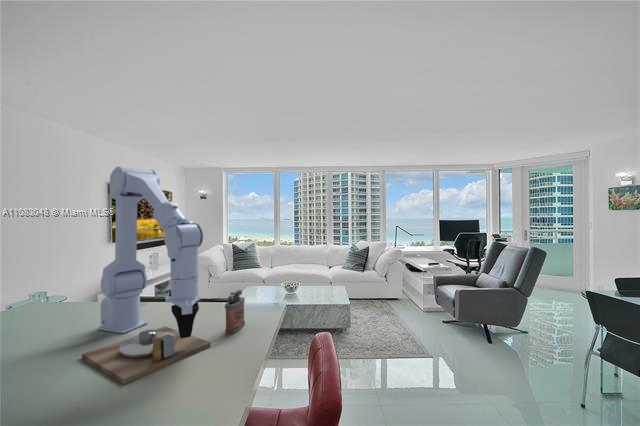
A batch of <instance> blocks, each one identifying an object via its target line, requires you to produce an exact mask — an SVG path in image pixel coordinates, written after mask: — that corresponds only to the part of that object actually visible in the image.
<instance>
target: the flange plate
mask: <svg viewBox="0 0 640 426" xmlns="http://www.w3.org/2000/svg"><path fill="white" fill-rule="evenodd" d="M134 336H135V337H134ZM134 336H131V337H132V338H131V337H129V338H130V339H128V338H126V339H127V340H126V341H124V342H123V343H122V344H121V345H120V355H121V356H123V357H127V358H142V357H148V356H152V355H153V338H156V337H161V354H162V357H163V358H166V357H168V356H171V355H173V354H174V353H175V336H174V334H172V333H169V332H157V330H155V329H152V328H151V329H145V330H142V331H140V332H139V333H138V336H137V335H134Z"/></svg>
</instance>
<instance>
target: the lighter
mask: <svg viewBox="0 0 640 426" xmlns="http://www.w3.org/2000/svg"><path fill="white" fill-rule="evenodd" d="M242 294H243V289H242V290H241V289H237V290H235V291H231V292H230V294H229V295H227V296H228V301H227V302H226V303H225V305H224V309H225V331H224V334H225V335H227V336H228V335H229V336H231V334H232V335H235V334H236V332H237V333H238V332H240V331H241V330H242V329H243V328H244V327H245V326H246V321H245V300H246V299H245V297H243V296H242ZM244 325H245V326H244ZM243 326H244V327H243ZM242 327H243V328H242ZM239 330H240V331H239Z"/></svg>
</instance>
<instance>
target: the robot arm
mask: <svg viewBox="0 0 640 426" xmlns="http://www.w3.org/2000/svg"><path fill="white" fill-rule="evenodd" d="M160 179H161V178H160V175H158V173H157V171H156V170H153V169H140V168H131V167H130V168H129V167H122V166H116V167H114V169H113V170H112V171H111V173H110V176H109V195H110V196H109V197H110V198H112V199H113V200H115V235H114V236H115V238H114V239H115V242H114V243H115V244H114V245H115V246H114V248H115V249H114V251H115V254H114V255H115V257H114V258H115V259H114V260H112V262H110V263H109V264H107V265H106V266H104V267H103V269H102V276H101V280H100V289H101V293H102V294H103V295H104V296H105V297H103V298H102V300H101V301H100V302H101V303H100V326H99V327H97V330H99V331H105V332H112V333H118V334H125V333H127V332H130V331H132V330H135V329H137V328H140V327H142V326H145V325H146V324H148V323H149V322H148V320H147V321H146V320H141V294H143V290H145V288H146V286H147V284H148V275H147V271H146V265H145V264H144V263H143V262H142V261H140V260H137V249H138V248H137V244H138V243H137V240H138V238H137V236H138V204H139V203H140V201H141V200H143V199H145V200H146V201H147V202H148V204H149V205H150V206H151V207H152V208H153V212H152V215H153V219H154V220H155V222H156V223H157V224H158V225H159V228H160V229H161V230H162V231H163V233H164V234H165V235H164V237H163V239H164V241H163V242H164V245H165V247H166V249H167V256H168V257H167V258H169V259H170V296H168V297H165V299H164V300H165V301H164V302H165V303H172V304H173V305H171V313H172V314H173V315H172V316H174V318H175V321H176V324H177V330H178V331H179V334H180V337H181V338H187V337H191V336H192V332H193V327H194V321H195V318H196V316H197V313H198V311H199V310H200V309H199V308H200V306H199V302H198V301H199V299H200V294H199V256H198V255H199V254H198V253H199V248H200V247H201V246H202V244H203V241H204V232H203V229H202V227H201V225H200V224H199V223H198V222H193V221H192V220H191V221H189V219H188V218H187V216H185V214H184V213H183V212H182V210H181V208H180V207H179V206H178V204H177V203H176V202H173V201H168V199H167V197H166V195H165V194H164V192H163V190H162V189H161V186H160V185H161V184H160V182H161V181H160Z"/></svg>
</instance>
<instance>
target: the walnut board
mask: <svg viewBox="0 0 640 426" xmlns="http://www.w3.org/2000/svg"><path fill="white" fill-rule="evenodd" d="M154 330H157V332H169V333H172V334H174V336H175V353H174V354H173V355H171V356H168V357H166V358H163V357H162V354H161V337H156V338H153V355H152V356H148V357H142V358H127V357H123V356H121V355H120V345H121V344H122V343H123V342H124V341H126V340H127V339H130V338H132V337H135V336H138V335H139V334H138V335H134V336H130V337H129V338H126V339H122V340H118V341H116V342H113V343H110V344H107V345H104V346H101V347H98V348H95V349H92V350H89V351H87V352H83V353H81V359H82V360H84V361H85V362H87V363H88V364H90V365H91V366H93V367H94V368H97V369H98V370H100V371H101V372H103V373H105V374H106V375H108V376H109V377H111V378H112V379H114V380H116V381H118V382H119V383H121V384H123V385H126V384H129V383H131V382H134V381H135V380H138V379H139V378H142V377H145V376H146V375H149V374H150V373H154V372H155V371H157V370H160V369H162V368H165V367H167V366H170V365H171V364H174V363H176V362H178V361H181V360H183V359H185V358H187V357H190V356H192V355H194V354H196V353H199V352H201V351H203V350H205V349H208V348H210V347H211V341H208V340H205V339H202V338H200V337H197V336H194V335H191V337H187V338H181V337H180V334H179V330H178V329H174V328H171V327H169V326H165V325H164V326H161V327H158V328H156V329H154Z"/></svg>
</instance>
